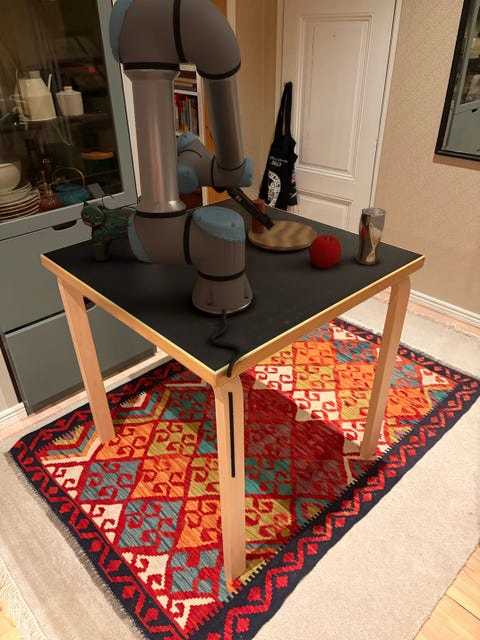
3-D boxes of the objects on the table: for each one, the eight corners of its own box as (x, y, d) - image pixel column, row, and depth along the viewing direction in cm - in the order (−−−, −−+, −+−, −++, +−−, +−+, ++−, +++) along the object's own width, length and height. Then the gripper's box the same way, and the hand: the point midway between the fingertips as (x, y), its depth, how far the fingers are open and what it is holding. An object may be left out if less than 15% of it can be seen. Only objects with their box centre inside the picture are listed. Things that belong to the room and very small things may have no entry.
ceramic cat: (88, 262, 139) (75, 195, 128) (97, 253, 144) (84, 189, 133) (153, 264, 137) (145, 197, 126) (159, 255, 142) (152, 190, 131)
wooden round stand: (319, 226, 157) (322, 193, 151) (313, 253, 139) (316, 217, 133) (255, 222, 161) (255, 190, 155) (241, 247, 143) (241, 212, 137)
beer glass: (365, 253, 141) (372, 205, 133) (383, 261, 136) (392, 211, 128) (349, 259, 138) (355, 210, 130) (367, 267, 133) (375, 217, 125)
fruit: (335, 274, 130) (338, 240, 124) (304, 268, 133) (306, 235, 128) (343, 261, 137) (346, 228, 131) (313, 256, 140) (316, 224, 135)
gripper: (231, 173, 131) (285, 225, 142) (221, 159, 145) (271, 207, 157) (213, 193, 133) (267, 243, 144) (205, 177, 147) (256, 223, 159)
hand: (269, 224), depth 150 cm, fingers closed on wooden round stand, 4 cm apart
